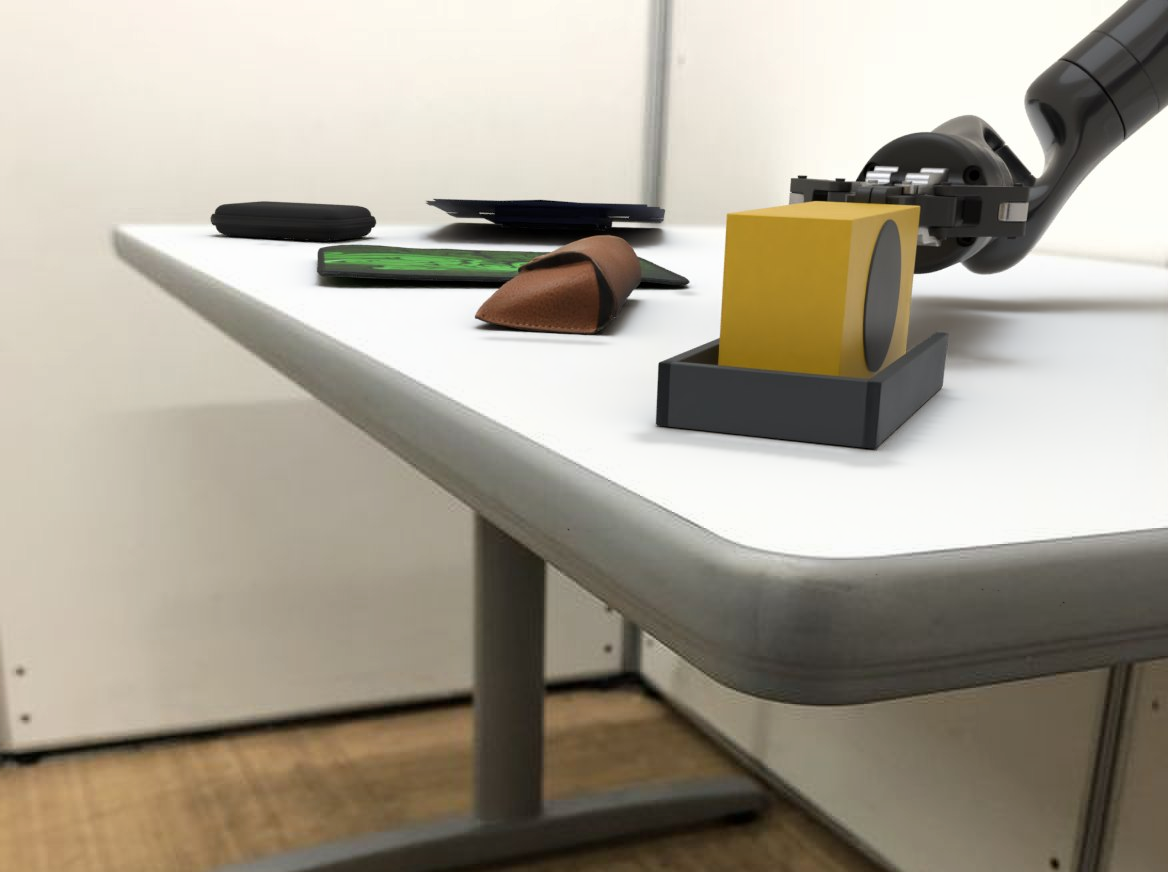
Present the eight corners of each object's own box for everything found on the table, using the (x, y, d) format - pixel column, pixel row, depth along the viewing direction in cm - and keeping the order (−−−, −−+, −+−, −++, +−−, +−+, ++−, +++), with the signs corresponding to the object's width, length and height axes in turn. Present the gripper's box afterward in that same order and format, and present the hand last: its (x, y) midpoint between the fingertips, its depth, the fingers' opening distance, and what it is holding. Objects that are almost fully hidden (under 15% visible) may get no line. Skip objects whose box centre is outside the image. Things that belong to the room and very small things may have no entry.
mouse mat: (635, 258, 123) (635, 246, 122) (698, 287, 102) (699, 272, 102) (317, 255, 118) (316, 243, 118) (317, 285, 98) (316, 270, 97)
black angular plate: (412, 227, 135) (412, 188, 134) (453, 242, 164) (454, 209, 164) (665, 234, 134) (667, 195, 133) (662, 247, 163) (663, 215, 163)
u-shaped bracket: (761, 370, 69) (765, 318, 68) (942, 386, 65) (948, 332, 65) (655, 425, 55) (657, 362, 55) (875, 449, 52) (881, 382, 51)
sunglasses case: (516, 285, 97) (568, 200, 94) (603, 341, 97) (656, 258, 95) (468, 319, 80) (530, 217, 77) (573, 388, 80) (637, 287, 78)
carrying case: (389, 236, 141) (263, 229, 146) (388, 205, 140) (261, 199, 145) (335, 243, 132) (202, 236, 137) (334, 210, 131) (200, 203, 136)
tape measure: (799, 370, 69) (812, 200, 66) (905, 379, 67) (922, 206, 64) (712, 414, 58) (723, 213, 55) (836, 428, 56) (854, 219, 53)
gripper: (1045, 276, 79) (1004, 303, 64) (814, 262, 84) (727, 284, 69) (1063, 136, 77) (1025, 130, 62) (825, 130, 82) (737, 123, 67)
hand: (868, 212), depth 66 cm, fingers closed
